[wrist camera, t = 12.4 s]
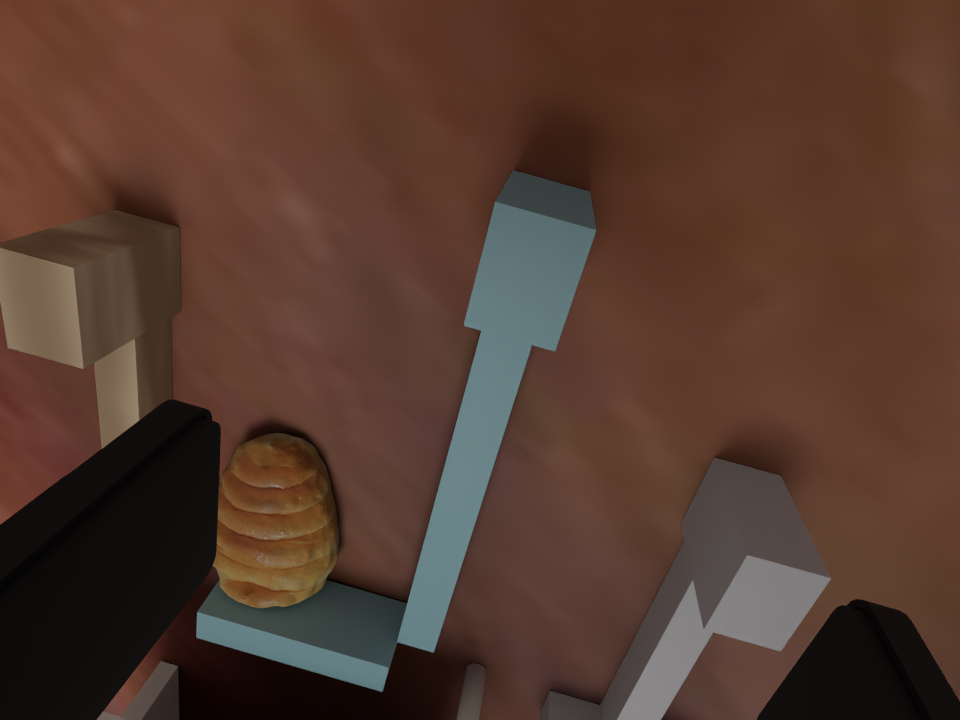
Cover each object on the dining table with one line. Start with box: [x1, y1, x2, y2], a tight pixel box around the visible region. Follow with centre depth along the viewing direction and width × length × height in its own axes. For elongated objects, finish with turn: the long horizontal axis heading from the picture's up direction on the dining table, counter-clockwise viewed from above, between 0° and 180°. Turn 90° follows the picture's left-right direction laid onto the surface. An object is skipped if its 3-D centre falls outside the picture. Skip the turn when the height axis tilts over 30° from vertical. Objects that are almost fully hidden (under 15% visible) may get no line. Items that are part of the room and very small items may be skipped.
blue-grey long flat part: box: [196, 170, 596, 692], centre depth 26 cm, size 12×26×6 cm, turn 166°
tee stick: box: [540, 458, 831, 720], centre depth 28 cm, size 8×20×6 cm, turn 168°
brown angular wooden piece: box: [0, 210, 181, 448], centre depth 27 cm, size 3×16×6 cm, turn 167°
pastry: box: [213, 433, 340, 608], centre depth 30 cm, size 9×7×4 cm
